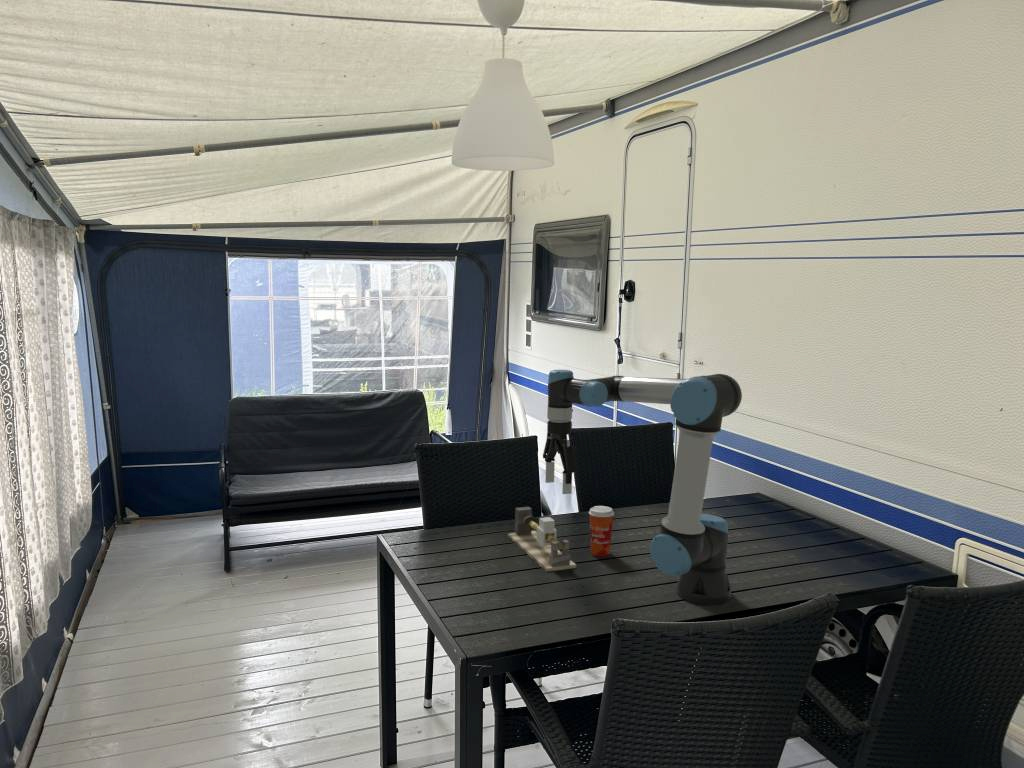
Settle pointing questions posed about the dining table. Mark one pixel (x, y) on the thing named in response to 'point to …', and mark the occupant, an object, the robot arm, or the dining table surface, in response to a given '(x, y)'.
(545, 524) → the sleeve
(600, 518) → the coffee cup
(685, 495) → the robot arm
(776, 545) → the dining table surface
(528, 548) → the cord rig
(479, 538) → the dining table surface
